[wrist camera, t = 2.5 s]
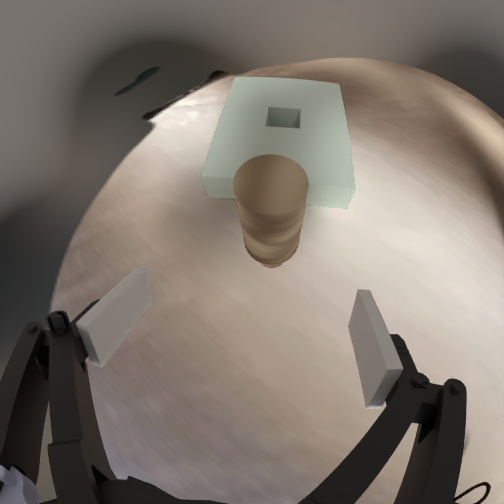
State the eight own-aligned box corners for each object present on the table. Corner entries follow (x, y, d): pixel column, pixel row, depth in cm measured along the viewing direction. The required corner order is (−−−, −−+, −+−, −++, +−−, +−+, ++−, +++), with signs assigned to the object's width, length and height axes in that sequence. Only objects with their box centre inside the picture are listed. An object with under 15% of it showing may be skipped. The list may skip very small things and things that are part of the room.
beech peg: (296, 235, 35) (309, 157, 22) (293, 279, 33) (308, 217, 19) (251, 231, 36) (238, 152, 22) (244, 274, 34) (226, 210, 20)
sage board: (335, 103, 46) (339, 83, 42) (346, 209, 37) (355, 188, 32) (237, 96, 49) (234, 77, 44) (208, 197, 39) (200, 176, 34)
